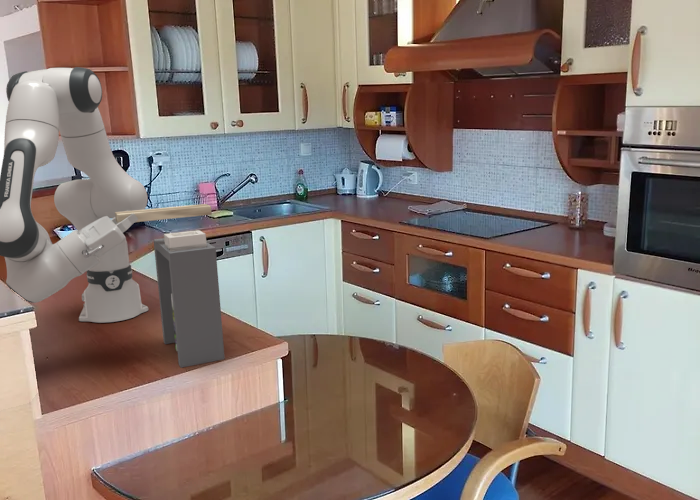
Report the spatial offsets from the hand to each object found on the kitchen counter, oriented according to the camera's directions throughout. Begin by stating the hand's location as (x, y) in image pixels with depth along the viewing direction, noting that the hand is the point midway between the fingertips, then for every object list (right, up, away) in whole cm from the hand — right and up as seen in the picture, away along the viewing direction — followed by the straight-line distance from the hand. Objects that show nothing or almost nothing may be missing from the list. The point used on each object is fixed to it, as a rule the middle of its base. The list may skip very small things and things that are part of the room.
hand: (133, 214), depth 151 cm
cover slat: (+6, -1, +3) cm, 7 cm away
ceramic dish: (+13, -8, -3) cm, 15 cm away
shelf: (+12, -32, +7) cm, 35 cm away
